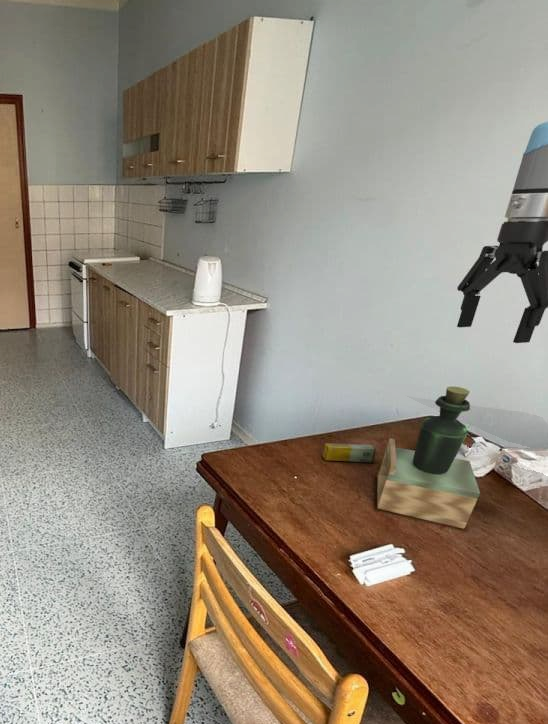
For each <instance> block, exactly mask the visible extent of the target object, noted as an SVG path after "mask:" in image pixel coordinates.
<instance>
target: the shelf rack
mask: <svg viewBox="0 0 548 724" xmlns="http://www.w3.org/2000/svg"><path fill="white" fill-rule="evenodd" d="M414 453H415V450H412V449H407V448H401V447H397V446H396V440H395V438H391V437H390V438H389V439H388V443H387V446H386V449H385V453H384V456H383V459H382V462H381V465H380V469H379V471H378V475H377V487H376V488H377V495H376V496H377V500H376V502H377V505H376V506H377V507H376V509H379V510H383V511H387V512H391V513H396V514H400V515H404V516H408V517H413V518H416V519H421V520H425V521H429V522H434V523H438V524H442V525H447V526H451V527H456V528H458V529H459V528H460V529H464V530H465V528H466V526H467V524H468V521H469V519H470V517H471V515H472V513H473V511H474V508H475V506H476V504H477V501H478V499H479V496H480V494H481V491H480V489H479V486H478V482H477V479H476V476H475V474H474V470H473V467H472V463H471V461H470V460H467V459H461V458H457V457H455V459H454V461H453V462H452V464H451V466H450V468H449V470H448V471H447V472H446V473H444V474H430V473H426V472H424V471H421V470H419V469H418V468H416V467H415V466H414V464H413V458H414Z"/></svg>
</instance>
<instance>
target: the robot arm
mask: <svg viewBox="0 0 548 724" xmlns="http://www.w3.org/2000/svg"><path fill="white" fill-rule="evenodd" d="M506 207H507V208H506V211H505V213H504V218H505V219H507V221H503V223H502V224H501V227H500V229H499V233H498V236H497V239H496V241H497V243H499V245H484V246H483V247H482V249H481V252H480V254H479V256H478V258H477V260H476V261H475V262H474V264H473V265H472V267H471V268H470V269H469V270H468V272H467V273H466V275H465V276H464V277H463V279H462V280H461V281H460V283H459V284H458V285H457V289H456V290H457V291H459V292H462V295H463V299H462V302H461V306H460V311H461V312H460V315H459V318H458V322H457V324H456V327H457V328H471V327H472V325H473V321H474V319H475V316H476V312H477V310H478V306H479V302H480V299H481V291H483V290H484V289H485V288H486V287H487V286H489V285H490V283H491V282H493V281H494V280H495V279H496V278H497V277H499V275H501V274H503V273H508V274H512V275H516V276H517V277H518V278H520V281H521V283H522V286H523V290H524V292H525V294H526V298H527V299H528V303H529V306H527V307H525V308H524V309H523V313H522V316H521V319H520V321H519V323H518V327H517V329H516V332H515V335H514V338H513V341H512V343H513V344H514V343H515V344H525V343H526V344H527V343H530V341H531V339H532V336H533V334H534V331H535V328H536V327H538V326H539V325H540V324H541V321H542V319H543V317H544V313H545V311H546V309H548V250H543V248H544V245H545V244H546V243H547V242H548V121H544V122H541V123H539V124H537V125H536V126H535V127H534V128H533V130H532V131H531V134H530V136H529V140H528V142H527V145H526V148H525V151H524V152H523V154H522V158H521V162H520V165H519V168H518V172H517V175H516V179H515V182H514V185H513V188H512V192H511V194H510V198H509V201H508V205H507V206H506Z"/></svg>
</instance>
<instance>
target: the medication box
mask: <svg viewBox="0 0 548 724" xmlns="http://www.w3.org/2000/svg"><path fill="white" fill-rule="evenodd" d="M376 451H377V447H375V446H374V445H372V444H356V443H327V442H326V443H324V448H323V454H322V458H323V459H324V460H325V461H334V462H353V463H354V462H357V463H372V464H373V463H374V461H375V460H374V459H375V455H376Z"/></svg>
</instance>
